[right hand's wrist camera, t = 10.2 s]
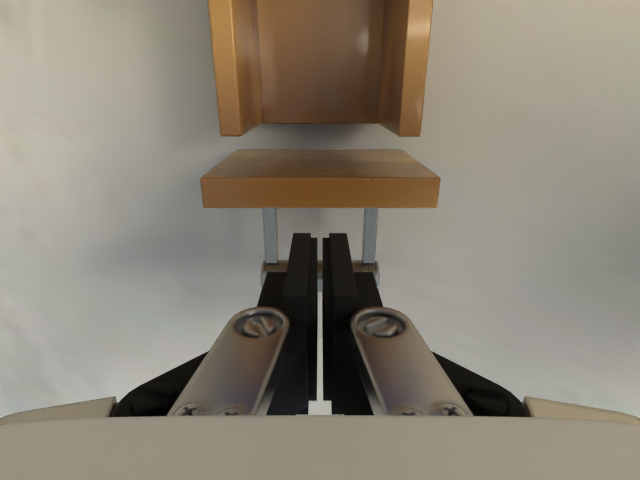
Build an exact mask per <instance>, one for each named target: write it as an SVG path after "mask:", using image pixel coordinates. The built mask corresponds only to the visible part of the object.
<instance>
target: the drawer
mask: <svg viewBox="0 0 640 480" xmlns="http://www.w3.org/2000/svg"><path fill="white" fill-rule="evenodd" d="M432 7H433V0H208V9H209V19H210V30H211V41H212V52H213V62H214V73H215V84H216V94H217V105H218V116H219V126H220V134H221V136H242V135H243V134H245V133H247V132H248V131H250V130H252V129H253V128H255V127H257V126H259V125H260V124H262V123H374V124H380V125H381V126H383V127H385V128H386V129H388V130H390V131H391V132H393V133H394V134H396V135H398V136H400V137H419V136H420V134H421V123H422V113H423V102H424V92H425V81H426V71H427V60H428V50H429V39H430V28H431V18H432ZM200 183H201V192H202V200H203V207H204V208H262V209H263V227H264V244H265V260H264V261H263V263H262V268H261V287H262V288H263V284H264V281H265V277H266V274H267V272H286V271H287V266H288V261H289V260H278V259H279V255H278V232H277V209H276V208H364V218H363V240H362V260H351V261H352V266H353V271H354V272H373V274H374V277H375V281H376V284H377V288H379V266H378V262H377V261H376V260H375V249H376V232H377V215H378V208H437V203H438V195H439V187H440V177H438V176H437V175H436V174H434V173H433V172H432V171H430V170H429V169H428V168H426V167H425V166H424V165H422V164H421V163H420V162H418V161H417V160H415V159H414V158H413V157H411V156H410V155H409V154H407V153H406V152H405V151H403V150H237V151H236V152H234V153H233V154H232V155H230V156H229V157H228V158H226V159H225V160H223V161H222V162H221V163H219V164H218V165H217V166H215V167H214V168H213V169H211V170H210V171H209V172H207V173H206V174H205V175H203V176H202V177H201V178H200ZM317 292H323V260H317Z"/></svg>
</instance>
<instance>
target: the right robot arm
mask: <svg viewBox="0 0 640 480" xmlns="http://www.w3.org/2000/svg"><path fill="white" fill-rule="evenodd" d="M309 401H317V238H311V233H294V234H293V239H292V244H291V250H290V255H289V261H288V266H287V271H286V272H267V274H266V277H265V281H264V284H263V288H262V291H261V294H260V298H259V301H258V305H257V307H254V308H249V309H246V310H243V311H240V312H239V313H237V314H235V315H234V316H233V317H232V318H231V319H230V320H229V321H228V323H227V324H226V326H225V328H224V329H223V331H222V332H221V334H220V335H219V337H218V338H217V340H216V341H215V343H214V344H213V346H212V347H211V349H210V350H209V351H208V352H206V353H204V354H202V355H200V356H198V357H196V358H194V359H192V360H190V361H188V362H186V363H184V364H182V365H180V366H178V367H176V368H174V369H172V370H170V371H168V372H166V373H164V374H162V375H160V376H158V377H156V378H154V379H152V380H150V381H148V382H146V383H144V384H142V385H140V386H139V387H137V388H135V389H134V390H132V391H131V392H129V393H128V394H127V395H126V396H125V397H124V398H123V399H122V400H121V401H120V402H117V400H116V396H114V397H108V398H102V399H96V400H90V401H84V402H78V403H72V404H66V405H60V406H54V407H48V408H42V409H36V410H29V411H23V412H18V413H15V414H11V415H7V416H4V417H2V418H0V480H640V418H638V417H636V416H633V415H629V414H625V413H622V412H617V411H611V410H604V409H598V408H592V407H586V406H580V405H574V404H568V403H562V402H556V401H550V400H544V399H538V398H532V397H526V396H524V400H523V402H520V401H519V400H518V399H517V398H516V397H515V396H514V395H513V394H512V393H511V392H509V391H508V390H506V389H505V388H503V387H501V386H500V385H498V384H496V383H494V382H492V381H490V380H488V379H486V378H484V377H482V376H480V375H478V374H476V373H474V372H472V371H470V370H468V369H466V368H464V367H462V366H460V365H458V364H456V363H454V362H452V361H450V360H448V359H446V358H444V357H442V356H440V355H438V354H436V353H434V352H432V351H431V350H430V349H429V347H428V346H427V344H426V343H425V341H424V340H423V338H422V337H421V335H420V334H419V332H418V331H417V329H416V328H415V326H414V324H413V323H412V321H411V320H410V319H409V318H408V317H407V316H406V315H405V314H403V313H401V312H400V311H397V310H394V309H391V308H386V307H383V305H382V301H381V298H380V294H379V291H378V288H377V284H376V281H375V277H374V274H373V272H354V271H353V266H352V261H351V255H350V250H349V244H348V239H347V234H346V233H329V238H323V401H331V403H332V414H344V415H296V414H308V403H309Z"/></svg>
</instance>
